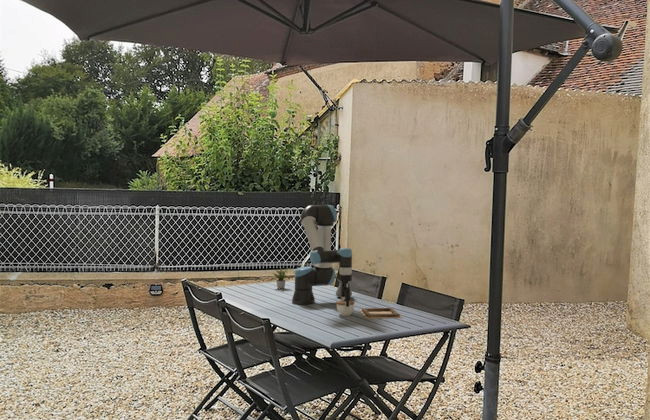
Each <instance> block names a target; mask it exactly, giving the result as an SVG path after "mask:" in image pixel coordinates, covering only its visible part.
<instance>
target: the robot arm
mask: <svg viewBox="0 0 650 420" xmlns="http://www.w3.org/2000/svg"><path fill="white" fill-rule="evenodd" d="M299 220H300V223H301V226H302V227H303V228H304V231H305V235H306V236H307V240H308V243H309V246H310V250H311V251H310V253H309V259H310V260H309V261H310V263H312V264H314V268H313V267H312V266H301V267H300V266H299V267H297V268H296V269H295V270H294V292H293V295H292V297H291V298H292V299H291V303H292V304H294V305H313V304H315V303H316V298H315V295H314V293H313V287H321V286H323V287H324V286H325V287H327V286H332V284H334V282H335V280H336V278H335V276H336V270H335V268H334V267H333V265H332V264H337V263H338V264H339V265H338V266H339V268H338V272H339V273H338V274H339V275H338V279H339V280H340V281H342V289H341V296H342V298H341V300H344V301H345V312H350V301H351V297H350V289H351V288H350V289H349V287H350V283H349V282H352V280H353V275H352V273H353V268H352V267H353V263H352V262H353V260H352V259H353V252H352V250H353V249H352V248H348V247H342V248H339V249H335V250H331V247H332V246H331V245H332V244H331V243H332V241H331V240H332V227H334V223H337V220H338V216H337V211H336V208H335V206H334V205H331V204H310V205H307V206H306V207H304V209H303V210H302V211H301V214H300V219H299Z"/></svg>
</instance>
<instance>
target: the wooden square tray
mask: <svg viewBox="0 0 650 420" xmlns="http://www.w3.org/2000/svg"><path fill="white" fill-rule="evenodd" d="M358 312H359V313H360V314H361V315H362V316H363V318H365V320H368V319H371V320H373V319H402V318H403V316H402V315H401V314H400V313H398V311H397V310H395V308H393V307H368V308H367V307H365V308H361V309H360V310H358Z"/></svg>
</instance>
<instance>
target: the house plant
mask: <svg viewBox="0 0 650 420" xmlns="http://www.w3.org/2000/svg"><path fill="white" fill-rule="evenodd" d="M284 270H285V271H284ZM273 271H275V272H276V273H275V272H271V274H273V276H274V277H275V278H277V279H276V287H277V289H278V288H284V289H285V287H286V279H285V278H286V277H288V276H289V275H287V274H286V273H287V272H288V271H289V268H285V269H282V267H280V270H278V269H274V268H273Z"/></svg>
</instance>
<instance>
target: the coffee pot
mask: <svg viewBox="0 0 650 420" xmlns="http://www.w3.org/2000/svg"><path fill="white" fill-rule="evenodd" d="M335 280H337V281H338V282H339V284H338V287H337V290H336V292H335V296H337V298H338V297H340V298H339V299H342V296H341V289H342V281H340V280H339V277H337V276H336V275H335ZM349 289H350V298H351V297H352V295H353V292H352V289H351V287H350V286H349Z"/></svg>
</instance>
